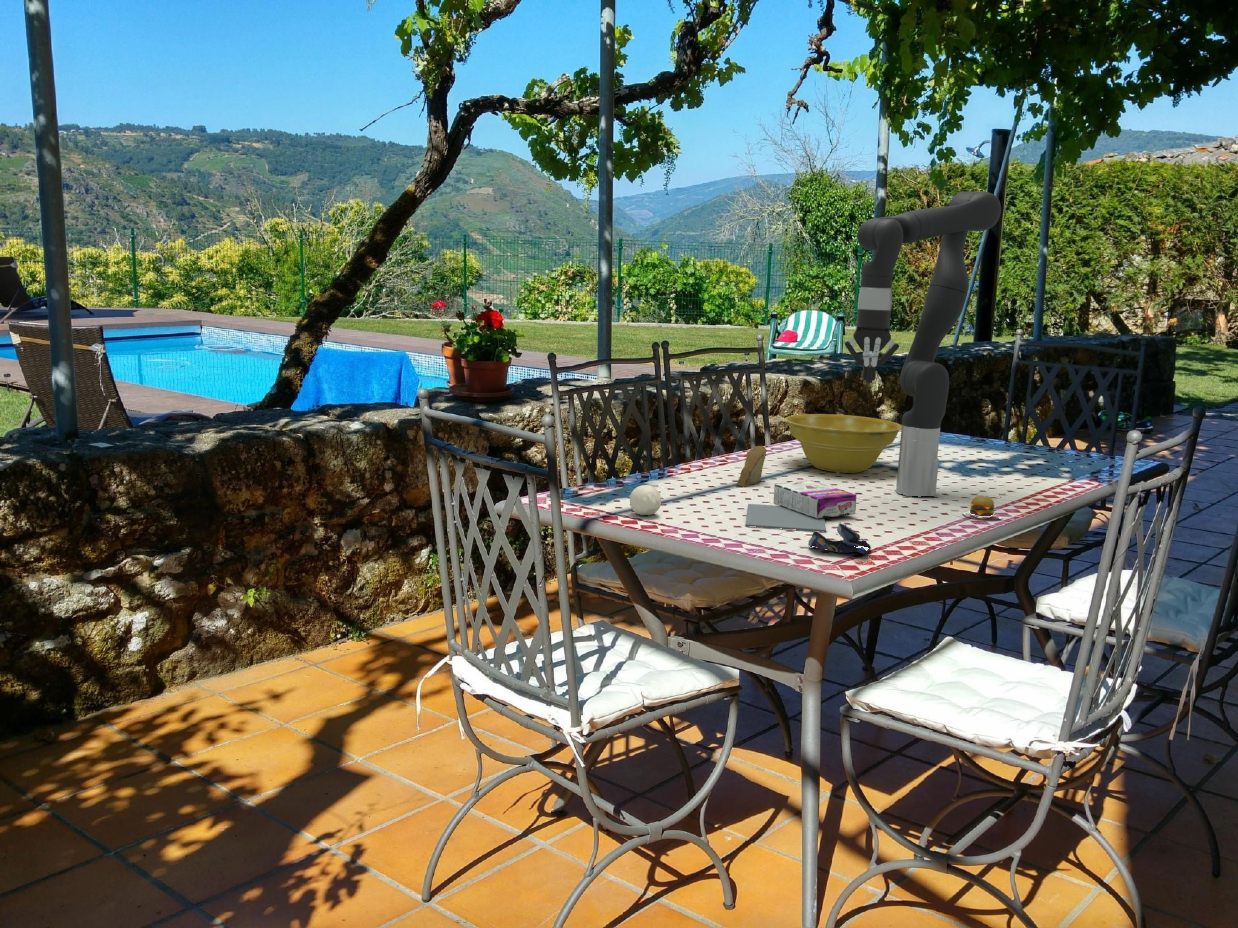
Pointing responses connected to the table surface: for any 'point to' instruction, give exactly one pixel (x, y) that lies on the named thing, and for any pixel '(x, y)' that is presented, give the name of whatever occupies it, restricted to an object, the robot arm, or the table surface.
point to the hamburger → (982, 506)
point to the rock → (752, 466)
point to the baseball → (645, 500)
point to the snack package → (843, 545)
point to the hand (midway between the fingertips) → (868, 382)
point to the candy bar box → (814, 499)
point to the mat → (781, 518)
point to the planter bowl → (842, 440)
